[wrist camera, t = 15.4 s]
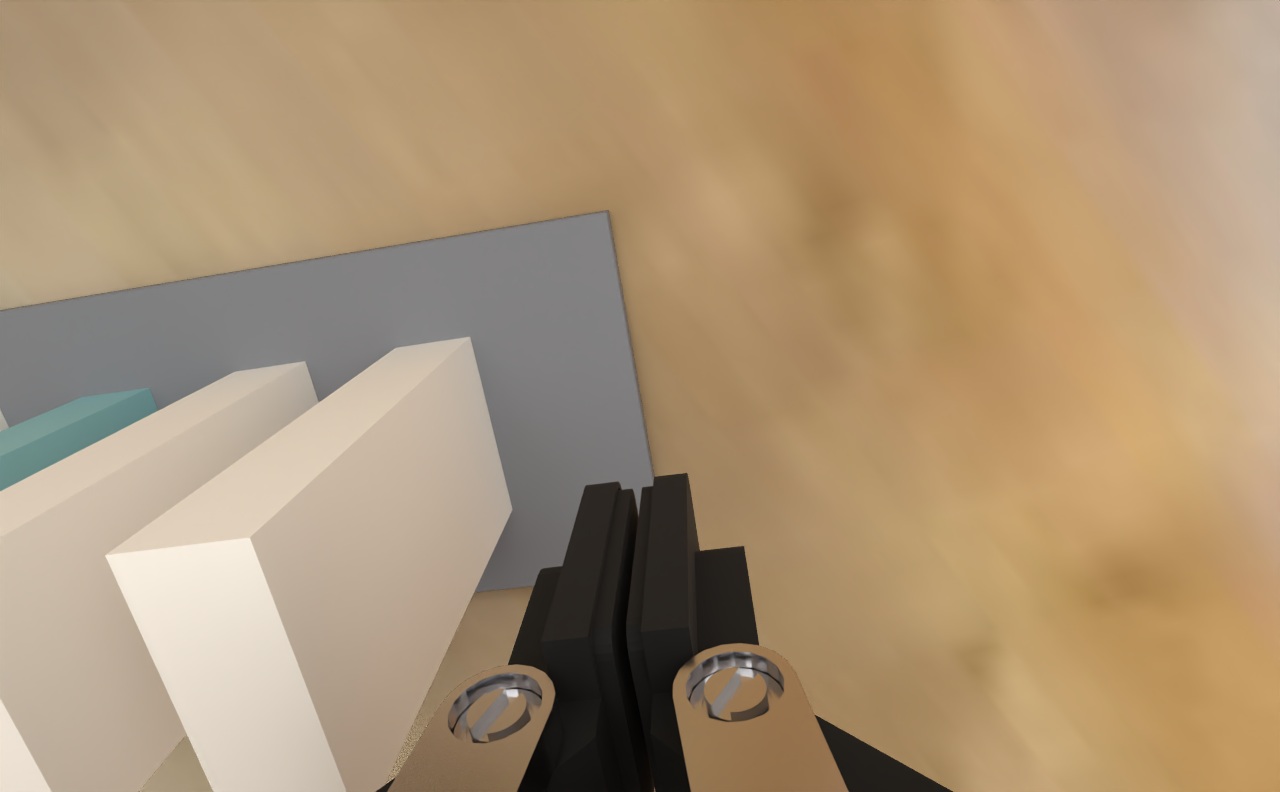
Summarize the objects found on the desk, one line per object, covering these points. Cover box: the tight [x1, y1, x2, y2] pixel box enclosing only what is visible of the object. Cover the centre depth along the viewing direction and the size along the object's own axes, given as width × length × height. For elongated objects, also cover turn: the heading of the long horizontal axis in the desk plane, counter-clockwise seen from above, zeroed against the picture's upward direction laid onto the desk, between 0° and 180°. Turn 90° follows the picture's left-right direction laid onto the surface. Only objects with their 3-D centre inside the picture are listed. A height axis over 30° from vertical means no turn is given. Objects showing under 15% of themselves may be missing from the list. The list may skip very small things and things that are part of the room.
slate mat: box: [0, 210, 654, 592], centre depth 21 cm, size 10×28×1 cm, turn 99°
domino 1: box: [0, 361, 319, 792], centre depth 15 cm, size 5×2×10 cm, turn 9°
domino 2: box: [105, 337, 512, 792], centre depth 15 cm, size 5×2×10 cm, turn 9°
